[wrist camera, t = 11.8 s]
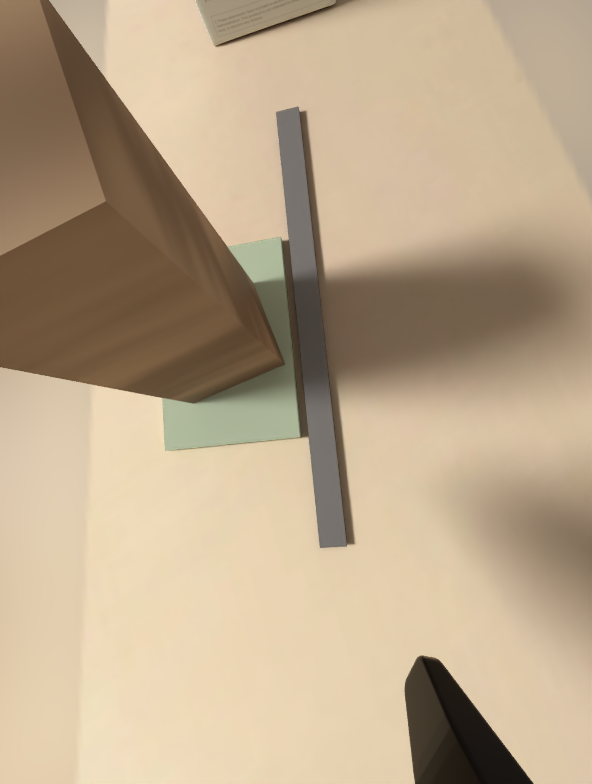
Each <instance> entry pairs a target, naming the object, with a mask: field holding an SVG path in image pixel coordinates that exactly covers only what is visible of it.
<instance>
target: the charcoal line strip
mask: <svg viewBox="0 0 592 784" xmlns="http://www.w3.org/2000/svg"><path fill="white" fill-rule="evenodd" d="M276 116H277V126H278V136H279V146H280V156H281V166H282V176H283V186H284V196H285V205H286V215H287V225H288V235H289V245H290V255H291V265H292V275H293V285H294V295H295V305H296V315H297V325H298V335H299V345H300V355H301V364H302V374H303V384H304V394H305V404H306V414H307V424H308V434H309V444H310V454H311V464H312V474H313V484H314V494H315V504H316V514H317V523H318V533H319V543H320V548H325V547H345V546H347V540H346V531H345V522H344V513H343V504H342V494H341V485H340V476H339V467H338V458H337V449H336V440H335V431H334V422H333V412H332V403H331V394H330V385H329V376H328V367H327V358H326V349H325V340H324V330H323V321H322V312H321V303H320V294H319V285H318V276H317V267H316V258H315V248H314V239H313V230H312V221H311V212H310V203H309V194H308V185H307V176H306V166H305V157H304V148H303V139H302V130H301V121H300V112H299V107H295V108H291V109H287V110H282V111H278V112H276Z"/></svg>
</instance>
